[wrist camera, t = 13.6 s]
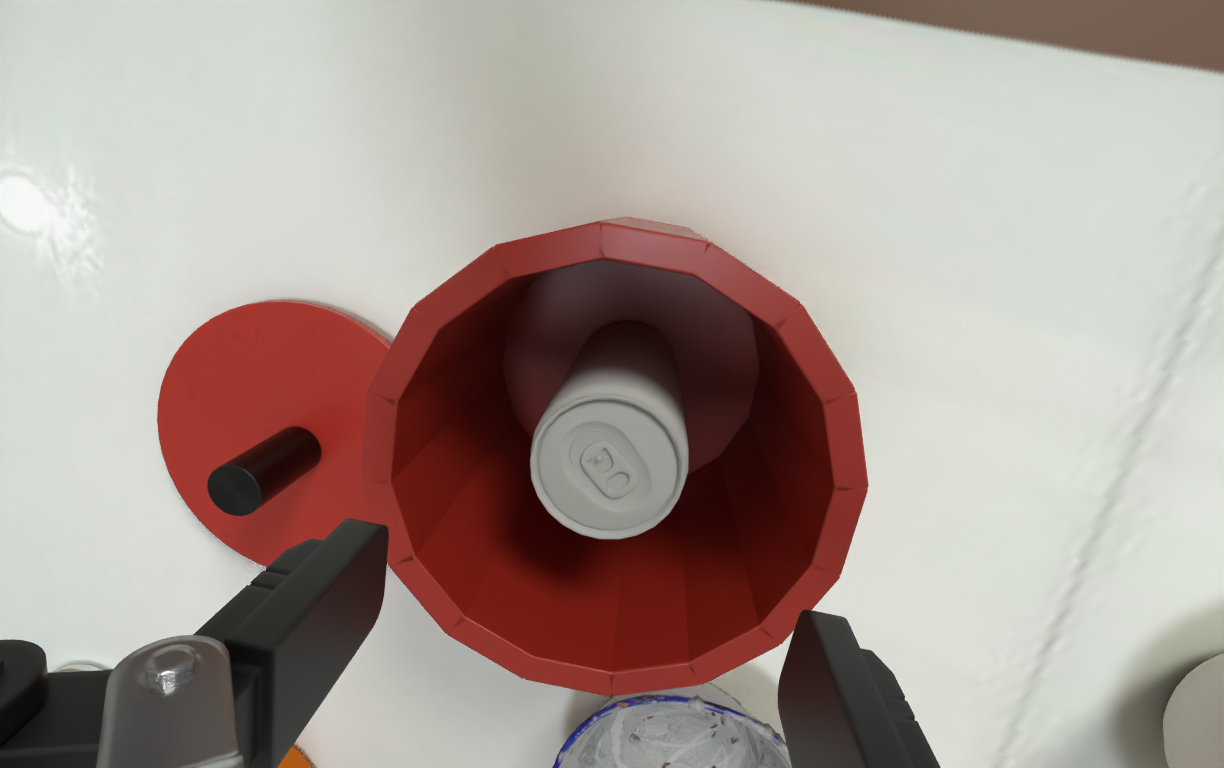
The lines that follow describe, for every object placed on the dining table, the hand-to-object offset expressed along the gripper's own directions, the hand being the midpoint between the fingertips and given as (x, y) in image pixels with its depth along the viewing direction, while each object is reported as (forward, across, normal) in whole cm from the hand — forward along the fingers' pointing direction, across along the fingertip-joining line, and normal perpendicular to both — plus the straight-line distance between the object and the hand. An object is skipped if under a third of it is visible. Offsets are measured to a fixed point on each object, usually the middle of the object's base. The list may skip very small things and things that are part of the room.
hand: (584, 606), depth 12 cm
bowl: (+19, -6, +21) cm, 29 cm away
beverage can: (+19, 0, 0) cm, 19 cm away
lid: (+18, +16, +7) cm, 25 cm away
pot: (+19, 0, 0) cm, 19 cm away
